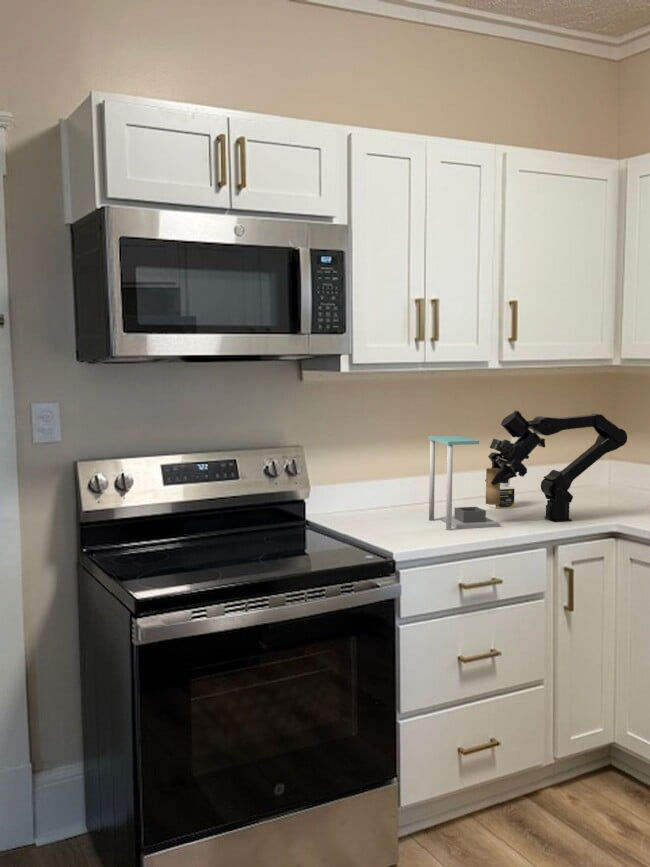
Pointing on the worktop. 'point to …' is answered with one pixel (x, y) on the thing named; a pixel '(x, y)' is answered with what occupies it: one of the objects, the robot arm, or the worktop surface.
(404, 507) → the worktop surface
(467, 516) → the awning socket
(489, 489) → the tan domed cylinder
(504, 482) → the medicine bottle
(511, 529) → the worktop surface
